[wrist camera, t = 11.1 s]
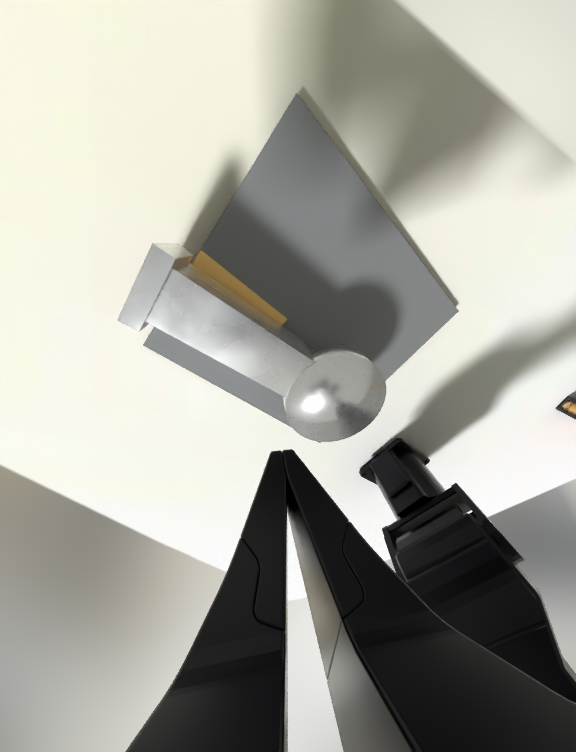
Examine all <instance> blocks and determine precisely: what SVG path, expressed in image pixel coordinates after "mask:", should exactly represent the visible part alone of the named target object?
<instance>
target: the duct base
mask: <svg viewBox="0 0 576 752" xmlns="http://www.w3.org/2000/svg"><path fill="white" fill-rule="evenodd" d="M192 264H193V265H194V266H196V267H197V268H199V269H200V270H202V271H203V272H205V273H206V274H208V275H209V276H210V277H212V278H213V279H215V280H216V281H218V282H219V283H221V284H222V285H224V286H225V287H226V288H228V289H229V290H231V291H232V292H234V293H235V294H237V295H238V296H239V297H241V298H242V299H244V300H245V301H247V302H248V303H250V304H251V305H253V306H254V307H255V308H257V309H258V310H260V311H261V312H263V313H264V314H266V315H267V316H268V317H270V318H271V319H273V320H274V321H276V322H277V323H279V324H280V325H282V326H283V327H284V328H286V329H287V330H289V331H290V332H292V333H293V334H295V335H296V336H298V337H299V338H300V339H302V340H303V341H304V342H305V344H306V346H307V347H308V349H309V350H311V349H313V348H315V347H318V346H321V345H326V344H344V345H348V346H351V347H353V348H355V349H357V350H359V351H360V352H361V353H362V354H363V355H365V356H366V357H367V358H368V359H369V360H370V361H371V362H372V363H373V364H374V365H375V366H376V367H378V369H379V370H380V371H381V373H382V375H383V377H384V380H385V381H386V380H387V379H388V378H389V377H390V376H391V375H392V374H393V373H394V372H395V371H396V370H397V369H398V368H399V367H400V366H401V365H403V364H404V363H405V362H406V361H407V360H408V359H409V358H410V357H411V356H412V355H413V354H414V353H415V352H416V351H417V350H418V349H419V348H420V347H421V346H423V345H424V344H425V343H426V342H427V341H428V340H429V339H430V338H431V337H432V336H433V335H434V334H435V333H436V332H437V331H438V330H439V329H440V328H441V327H442V326H444V325H445V324H446V323H447V322H448V321H449V320H450V319H451V318H452V317H453V316H454V315H455V314H456V313H457V312H458V310H457V308H456V307H455V306H454V304H453V303H452V302H451V300H450V299H449V298H448V296H447V295H446V294H445V292H444V291H443V289H442V288H441V287H440V285H439V284H438V283H437V281H436V280H435V279H434V277H433V276H432V275H431V273H430V272H429V271H428V269H427V268H426V267H425V265H424V264H423V263H422V261H421V260H420V258H419V257H418V256H417V254H416V253H415V252H414V250H413V249H412V248H411V246H410V245H409V244H408V242H407V241H406V240H405V238H404V237H403V236H402V234H401V233H400V232H399V230H398V229H397V227H396V226H395V225H394V223H393V222H392V221H391V219H390V218H389V217H388V215H387V214H386V213H385V211H384V210H383V209H382V207H381V206H380V205H379V203H378V202H377V200H376V199H375V198H374V196H373V195H372V194H371V192H370V191H369V190H368V188H367V187H366V186H365V184H364V183H363V182H362V180H361V179H360V178H359V176H358V175H357V174H356V172H355V171H354V169H353V168H352V167H351V165H350V164H349V163H348V161H347V160H346V159H345V157H344V156H343V155H342V153H341V152H340V151H339V149H338V148H337V147H336V145H335V144H334V143H333V141H332V140H331V138H330V137H329V136H328V134H327V133H326V132H325V130H324V129H323V128H322V126H321V125H320V124H319V122H318V121H317V120H316V118H315V117H314V116H313V114H312V113H311V112H310V110H309V109H308V107H307V106H306V105H305V103H304V102H303V101H302V99H301V98H300V97H299V95H298V94H297V93H296V95H295V97H294V98H293V100H292V102H291V103H290V105H289V106H288V108H287V110H286V111H285V113H284V115H283V116H282V118H281V120H280V121H279V123H278V125H277V126H276V128H275V129H274V131H273V133H272V134H271V136H270V138H269V139H268V141H267V143H266V144H265V146H264V147H263V149H262V151H261V152H260V154H259V156H258V157H257V159H256V161H255V162H254V164H253V166H252V167H251V169H250V170H249V172H248V174H247V175H246V177H245V179H244V180H243V182H242V184H241V185H240V187H239V188H238V190H237V192H236V193H235V195H234V197H233V198H232V200H231V202H230V203H229V205H228V207H227V208H226V210H225V211H224V213H223V215H222V216H221V218H220V220H219V221H218V223H217V225H216V226H215V228H214V229H213V231H212V233H211V234H210V236H209V238H208V239H207V241H206V243H205V244H204V246H203V248H202V249H201V250H200V252H199V253H198V255H197V257H196V258H195V260H194V261H193V263H192ZM143 345H144V346H146V347H147V348H149V349H151V350H153V351H155V352H156V353H158V354H160V355H162V356H164V357H165V358H167V359H169V360H171V361H173V362H174V363H176V364H178V365H180V366H182V367H184V368H185V369H187V370H189V371H191V372H193V373H194V374H196V375H198V376H200V377H202V378H203V379H205V380H207V381H209V382H211V383H212V384H214V385H216V386H218V387H220V388H222V389H223V390H225V391H227V392H229V393H231V394H232V395H234V396H236V397H238V398H240V399H241V400H243V401H245V402H247V403H249V404H250V405H252V406H254V407H256V408H258V409H260V410H261V411H263V412H265V413H267V414H269V415H270V416H272V417H274V418H276V419H278V420H279V421H281V422H283V423H285V424H287V425H288V426H290V427H292V426H291V425H290V423H289V421H288V419H287V415H286V411H285V407H284V403H283V399H282V395H280V394H278V393H276V392H274V391H273V390H271V389H269V388H267V387H265V386H263V385H261V384H260V383H258V382H256V381H254V380H252V379H250V378H249V377H247V376H245V375H243V374H241V373H239V372H237V371H236V370H234V369H232V368H230V367H228V366H226V365H225V364H223V363H221V362H219V361H217V360H215V359H213V358H212V357H210V356H208V355H206V354H204V353H202V352H201V351H199V350H197V349H195V348H193V347H191V346H189V345H188V344H186V343H184V342H182V341H180V340H178V339H177V338H175V337H173V336H171V335H169V334H167V333H165V332H164V331H162V330H160V329H158V328H156V327H154V328H153V330H152V331H151V333H150V334H149V336H148V338H147V339H146V341H145V343H144V344H143ZM317 442H319V443H320V441H317Z"/></svg>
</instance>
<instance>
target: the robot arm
mask: <svg viewBox="0 0 576 752" xmlns="http://www.w3.org/2000/svg"><path fill="white" fill-rule="evenodd" d="M429 461H430V460H429V458H428V457H427V456H425V455H424V454H422V453H421V452H420V451H418V450H417V449H415V448H414V447H413V446H411V445H410V444H408V443H407V442H405V441H404V440H403V439H401V438H400V439H397V440H395V441H394V442H393V443H392V444H391V445H390V446H388V447H387V448H386V449H385V450H384V451H382V452H381V453H380V454H379V455H378V456H376V457H375V458H374V459H373V460H372V461H371V462H369V463H368V464H367V465H366V466H365V467H363V468H362V469H361V470H360V471H359V473H360V475H361V476H362V477H363V478H365V479H367V480H369V481H371V482H373V483H375V484H377V485H378V486H379V488H380V490H381V492H382V494H383V495H384V497H385V499H386V501H387V503H388V504H389V506H390V508H391V510H392V512H393V513H394V515H395V517H396V519H397V521H396V522H394V523H392V524H391V525H389V526H385V527H384V528H382V531H383V534H384V539H385V542H386V545H387V548H388V551H389V554H390V557H391V559H392V562H393V565H394V568H395V571H396V573H395V572H394V571H393V570H392V569H391V568H390V567H389V566H388V565H387V564H386V563H385V562H384V561H383V559H382V558H381V557H380V556H379V555H378V554H377V553H376V552H375V551H374V550H373V549H372V548H371V547H370V545H369V544H368V543H367V542H366V541H365V539H364V538H363V537H362V536H361V535H360V533H359V532H358V531H357V530H356V528H355V527H354V526H353V525H352V523H351V522H348V521H349V520H348V518H347V517H346V516H345V515H344V513H343V512H342V511H341V510H340V508H339V507H338V506H337V505H336V503H335V502H334V501H333V500H332V498H331V497H330V496H329V495H328V493H327V492H326V491H325V490H324V488H323V487H322V486H321V484H320V483H319V482H318V481H317V479H316V478H315V477H314V476H313V474H312V473H311V472H310V471H309V469H308V468H307V467H306V466H305V464H304V463H303V462H302V461H301V459H300V458H299V457H298V456H297V454H296V453H295V452H294V451H293V450H292V449H290V450H283V451H282V452H281V451H272V452H271V453H270V455H269V458H268V461H267V464H266V467H265V469H264V472H263V475H262V478H261V481H260V483H259V486H258V489H257V492H256V495H255V497H254V500H253V503H252V506H251V509H250V511H249V514H248V517H247V520H246V523H245V525H244V528H243V531H242V534H241V538H240V539H239V542H238V545H237V547H236V550H235V553H234V555H233V558H232V560H231V563H230V566H229V568H228V571H227V573H226V575H225V577H224V580H223V582H222V584H221V586H220V589H219V591H218V593H217V595H216V597H215V599H214V601H213V603H212V605H211V608H210V609H209V612H208V614H207V616H206V618H205V620H204V622H203V624H202V626H201V628H200V630H199V632H198V634H197V637H196V639H195V641H194V643H193V645H192V647H191V649H190V651H189V653H188V655H187V657H186V659H185V661H184V663H183V665H182V667H181V668H180V670H179V672H178V674H177V676H176V678H175V679H174V681H173V683H172V684H171V686H170V688H169V689H168V691H167V692H166V694H165V695H164V697H163V699H162V700H161V702H160V703H159V704H158V706H157V707H156V708H155V710H154V711H153V713H152V714H151V716H150V717H149V719H148V720H147V721H146V723H145V724H144V726H143V728H142V729H141V730H140V732H139V733H138V734H137V736H136V737H135V739H134V740H133V742H132V743H131V744H130V746H129V747H128V749H127V750H126V752H288V741H287V740H288V721H287V720H288V717H287V716H288V715H287V714H288V711H287V710H288V704H287V703H288V699H287V698H288V696H287V694H288V692H287V511H288V516H289V521H290V525H291V529H292V533H293V538H294V542H295V546H296V551H297V555H298V559H299V563H300V568H301V572H302V576H303V580H304V585H305V589H306V593H307V597H308V601H309V606H310V610H311V614H312V619H313V623H314V627H315V631H316V635H317V640H318V644H319V648H320V653H321V657H322V661H323V665H324V670H325V674H326V678H327V680H328V681H327V682H328V687H329V691H330V695H331V700H332V703H333V708H334V712H335V717H336V721H337V725H338V729H339V734H340V738H341V742H342V746H343V751H344V752H576V674H575V672H574V671H573V670H572V668H571V667H570V666H569V664H568V663H567V662H566V661H565V659H564V658H563V656H562V654H561V651H560V649H559V646H558V643H557V640H556V637H555V634H554V631H553V628H552V625H551V623H550V620H549V617H548V614H547V611H546V608H545V605H544V602H543V599H542V597H541V594H540V592H539V591H538V589H537V588H536V587H535V586H534V585H533V584H532V582H531V581H530V580H529V579H528V577H527V576H526V575H525V574H524V573H523V572H522V570H521V569H520V568H519V567H518V566H517V564H518V563H520V562H522V561H524V559H523V558H522V556H521V555H520V554H519V553H518V552H517V551H516V549H515V548H514V547H513V546H512V545H511V544H510V543H509V542H508V540H507V539H506V538H505V537H504V536H503V535H502V533H501V532H500V531H499V530H498V529H497V528H496V527H495V525H494V524H493V523H492V522H491V521H490V520H489V519H488V518H487V516H486V515H485V514H484V513H483V512H482V511H481V510H480V509H479V507H478V506H477V505H476V504H475V503H474V502H473V501H472V500H471V499H470V497H469V496H468V495H467V494H466V493H465V492H464V491H463V490H462V489H461V488H460V486H459V485H458V484H457V483H455V484H453V485H452V487H451V488H449V489H447V490H445V489H444V488H443V487H442V486H441V484H440V483H439V482H438V481H437V479H436V478H435V477H434V476H433V474H432V473H431V472H430V471H429V470H428V468H427V467H426V466H425V465H426V464H428V463H429ZM470 510H472V511H473V512H472V513H470V514H468V513H467V512H468V511H470ZM465 513H466V514H465Z"/></svg>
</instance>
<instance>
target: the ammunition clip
mask: <svg viewBox="0 0 576 752" xmlns="http://www.w3.org/2000/svg"><path fill="white" fill-rule="evenodd" d="M556 409H557V410H559V411H561V412H563V413H565V414H566V415H568V416H570V417H572V418H574V419H576V399H574V398H571V397H567V398H566V399H565V400H564V401H563V402H562V403H561V404H560V405H559V406H558V407H557V408H556Z"/></svg>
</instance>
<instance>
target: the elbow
mask: <svg viewBox="0 0 576 752" xmlns="http://www.w3.org/2000/svg"><path fill="white" fill-rule="evenodd" d="M193 257H194V255H193V254H192V253H190V252H189V251H188V250H186V249H185V248H183V247H182V246H180V245H179V244H165V243H152V245H151V248H150V250H149V252H148V254H147V256H146V259H145V261H144V263H143V265H142V267H141V269H140V272H139V274H138V276H137V278H136V280H135V283H134V285H133V287H132V289H131V291H130V293H129V296H128V298H127V300H126V302H125V304H124V307H123V309H122V311H121V313H120V315H119V317H118V321H120V322H121V323H123V324H125V325H127V326H129V327H131V328H133V329H135V330H137V331H141V330H142V329H143V328H144V327H145V326H147V325H148V324H151V325H153V326H154V327H156V328H158V329H160V330H162V331H164V332H165V333H167V334H169V335H171V336H173V337H175V338H177V339H178V340H180V341H182V342H184V343H186V344H188V345H189V346H191V347H193V348H195V349H197V350H199V351H201V352H202V353H204V354H206V355H208V356H210V357H212V358H213V359H215V360H217V361H219V362H221V363H223V364H225V365H226V366H228V367H230V368H232V369H234V370H236V371H237V372H239V373H241V374H243V375H245V376H247V377H249V378H250V379H252V380H254V381H256V382H258V383H260V384H261V385H263V386H265V387H267V388H269V389H271V390H273V391H274V392H276V393H278V394H280V395H282V399H283V403H284V407H285V411H286V415H287V419H288V421H289V423H290V425H291V426H292V428H293V429H294V430H295V431H296V432H297V433H299V434H300V435H301V436H303V437H305V438H307V439H310V440H314V441H320V442H331V441H338V440H342V439H345V438H348V437H350V436H352V435H355V434H356V433H358V432H360V431H361V430H363V429H364V428H365V427H367V426H368V425H369V424H370V423H371V422H372V421H373V420H374V419H375V417H376V416H377V415H378V413H379V412H380V410H381V408H382V406H383V404H384V400H385V396H386V384H385V380H384V377H383V375H382V373H381V371H380V370H379V369H378V367H376V366H375V365H374V364H373V363H372V362H371V361H370V360H369V359H368V358H367V357H366V356H365V355H363V354H362V353H361V352H360V351H359V350H357V349H355V348H353V347H351V346H348V345H344V344H326V345H321V346H318V347H315V348H313V349H311V350H309V349H308V347H307V346H306V344H305V342H304V341H303V340H302V339H300V338H299V337H298V336H296V335H295V334H293V333H292V332H290V331H289V330H287V329H286V328H284V327H283V326H282V325H280V324H279V323H277V322H276V321H274V320H273V319H271V318H270V317H268V316H267V315H266V314H264V313H263V312H261V311H260V310H258V309H257V308H255V307H254V306H253V305H251V304H250V303H248V302H247V301H245V300H244V299H242V298H241V297H239V296H238V295H237V294H235V293H234V292H232V291H231V290H229V289H228V288H226V287H225V286H224V285H222V284H221V283H219V282H218V281H216V280H215V279H213V278H212V277H210V276H209V275H208V274H206V273H205V272H203V271H202V270H200V269H199V268H197V267H196V266H194V265H193V264H192V263H190V262H191V261H192V259H193Z"/></svg>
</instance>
